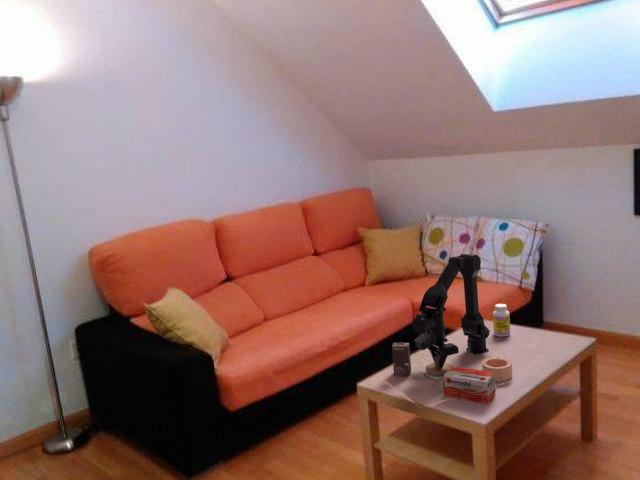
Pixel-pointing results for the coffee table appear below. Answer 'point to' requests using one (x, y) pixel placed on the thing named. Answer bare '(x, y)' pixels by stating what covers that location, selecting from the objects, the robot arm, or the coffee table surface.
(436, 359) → the lid
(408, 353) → the box
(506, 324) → the supplement bottle
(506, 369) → the bowl
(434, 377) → the mat
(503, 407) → the coffee table surface
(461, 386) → the medicine box
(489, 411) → the coffee table surface
